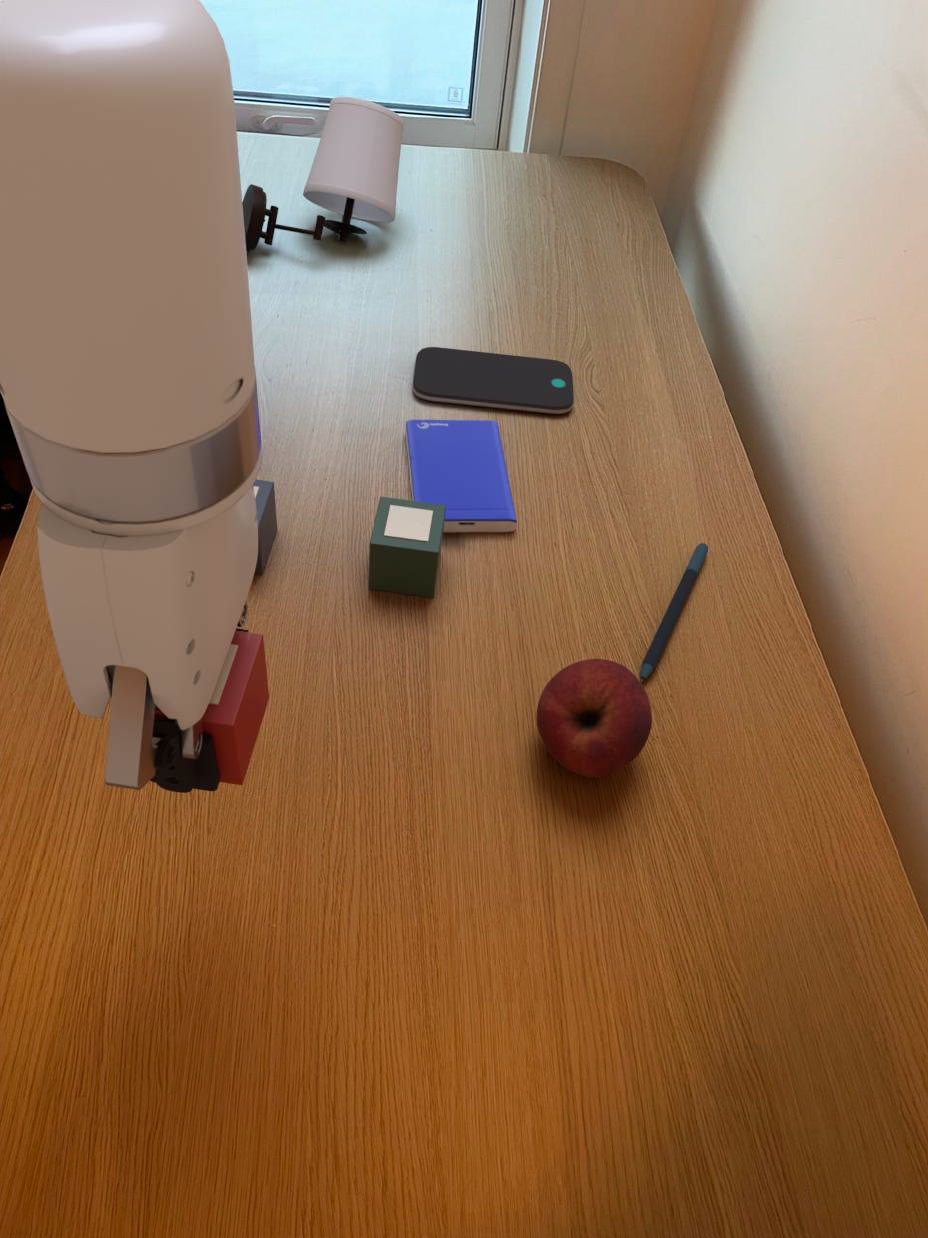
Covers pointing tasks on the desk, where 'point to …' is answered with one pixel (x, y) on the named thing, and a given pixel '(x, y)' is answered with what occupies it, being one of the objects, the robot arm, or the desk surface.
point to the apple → (594, 717)
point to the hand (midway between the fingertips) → (203, 726)
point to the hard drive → (461, 473)
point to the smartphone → (493, 380)
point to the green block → (406, 547)
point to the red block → (236, 706)
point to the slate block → (265, 521)
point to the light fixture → (342, 173)
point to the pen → (673, 611)
